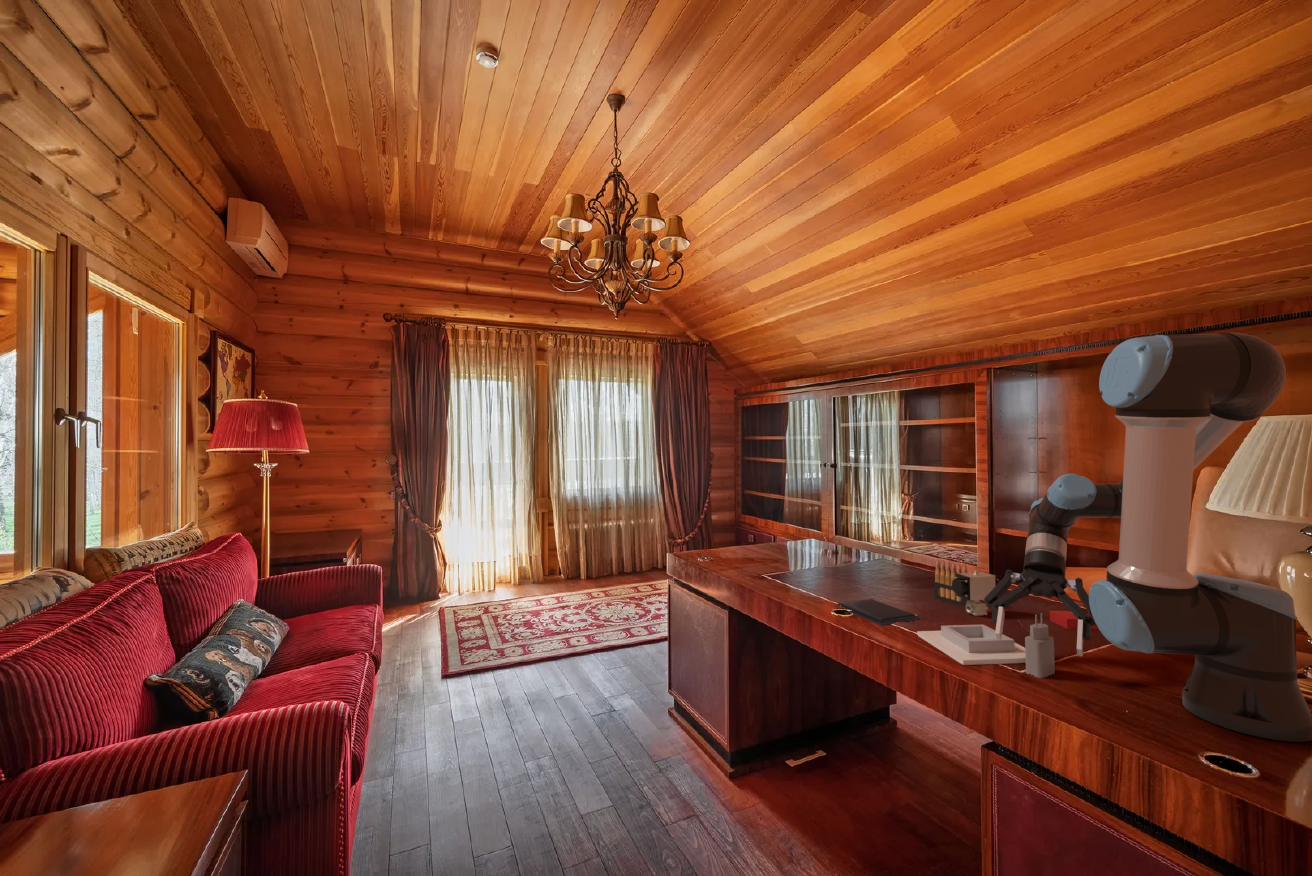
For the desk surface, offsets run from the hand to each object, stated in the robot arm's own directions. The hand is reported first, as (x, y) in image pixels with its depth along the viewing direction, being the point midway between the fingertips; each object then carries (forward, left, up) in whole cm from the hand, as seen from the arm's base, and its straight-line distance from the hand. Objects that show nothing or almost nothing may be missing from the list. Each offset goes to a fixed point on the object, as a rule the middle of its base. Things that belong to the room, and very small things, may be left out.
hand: (1037, 644), depth 109 cm
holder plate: (+14, +3, -6) cm, 16 cm away
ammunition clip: (+49, -13, -6) cm, 51 cm away
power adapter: (0, -1, -6) cm, 6 cm away
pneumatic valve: (+38, -13, -6) cm, 41 cm away
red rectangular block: (+27, -32, -6) cm, 42 cm away
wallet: (+42, +13, -7) cm, 45 cm away
